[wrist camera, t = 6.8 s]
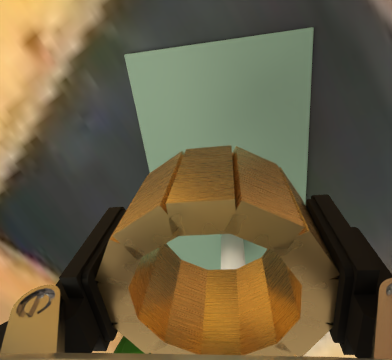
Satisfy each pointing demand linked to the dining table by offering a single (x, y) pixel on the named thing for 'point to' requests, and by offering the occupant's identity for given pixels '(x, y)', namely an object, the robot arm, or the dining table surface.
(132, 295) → the brass ring
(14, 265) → the dining table surface
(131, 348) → the bell pepper
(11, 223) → the dining table surface
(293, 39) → the post board
